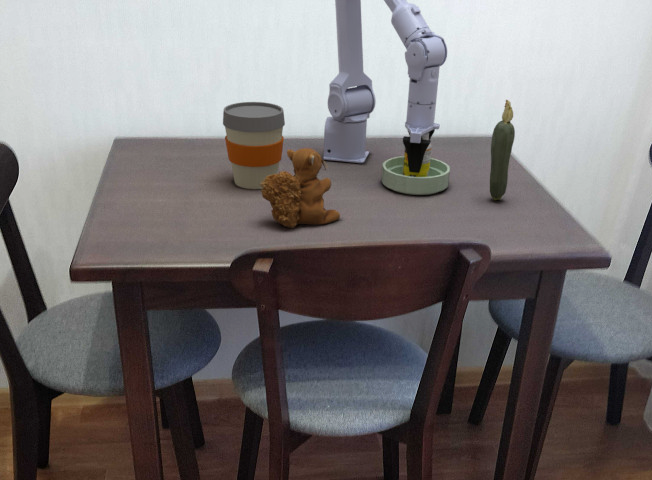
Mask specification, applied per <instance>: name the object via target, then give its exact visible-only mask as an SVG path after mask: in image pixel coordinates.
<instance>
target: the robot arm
mask: <svg viewBox="0 0 652 480" xmlns="http://www.w3.org/2000/svg"><path fill="white" fill-rule="evenodd" d="M383 1H384V3H385V5H386V6H387V7H388V8H389V10H390V12H391V18H390V23H391V25H392V27H393V28H394V30H395V32H396V34H397V35H398V37H399V39H400V40H401V42H402V44H403V46H404V47H405V50H406V51H404V60H405V63H406V65H407V75H408V78H409V81H408V82H409V83H408V95H407V107H406V121H405V122H404V128H405V129H406V130H407V132H408V133H407V134H408V136H406V135H405V136H403V138H402V144H403V146H404V149H405V148H406V152H407V157H408V166H409V171H410V172H415V173H419V172H420V169H421V166H422V162H423V158H424V154H425V151H426V149H427V148H428V146H429V144H430V142H431V143H432V140H431V138H432V137H433V135H434V133H435V130H440V123H435V120H436V119H435V117H436V106H437V99H438V98H437V97H438V86H439V78H440V67H443V65H444V64H445V62H446V61H447V58H448V47H447V43H446V41H445V38H444V37H443V36H441V35H439V34H436V33H435V32H434V31H432V30H431V28H430V27H429V25H428V24H427V21H426V20H425V18H424V16H423V15H422V13H421V12H422V11H421V9H420V6H418V5H416V4H415V3H411V2H408V1H407V0H383ZM334 3H335V4H334V5H335V23H336V42H337V57H338V58H337V60H338V74H337V75H336V76H335V77H334V78H333V80H331V81H330V83H329V87H328V89H329V91H328V97H327V109H328V112H329V114H330V115H331V116H327V117H326V119H325V123H324V132H323V156H322V160H323V161H334V162H343V163H355V164H364V163H365V161H366V160H367V158H368V156H369V154H370V151H368V150H366V146H367V143H366V142H367V127H368V126H367V125H368V119H370V117H371V114H372V113H373V112H374V110H375V108H376V95H375V93H374V89H373V88H374V87H373V80H372V79H371V78H370V77H369V76H368V75H367V74H366V73H365V72H364V54H363V53H364V52H363V51H364V49H363V27H362V25H363V24H362V23H363V22H362V1H361V0H334ZM426 133H429V140H423V138H422V135H424V134H426ZM410 134H411V137H409V136H410Z"/></svg>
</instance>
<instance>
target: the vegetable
mask: <svg viewBox="0 0 652 480" xmlns="http://www.w3.org/2000/svg"><path fill="white" fill-rule="evenodd" d="M511 104H512V103H511V101H510V100H509V99H505V104H504V106H503V107H504V109H503V112H502V115H501V120H500V121H498V122H497V123H496V125H494V128H493V131H492V134H491V142H490V173H489V194H490V196H491V198H492V199H493V200H494V201H498V200H501V199H503V196H504V195H506V192H507V186H508V177H509V167H510V159H511V154H512V150H513V145H514V142H515V136H516V130H515V129H516V128H515V126H514V124H513V123H512V122H511V121H512V120H513V118H514V110H513V107H512V106H511Z"/></svg>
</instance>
